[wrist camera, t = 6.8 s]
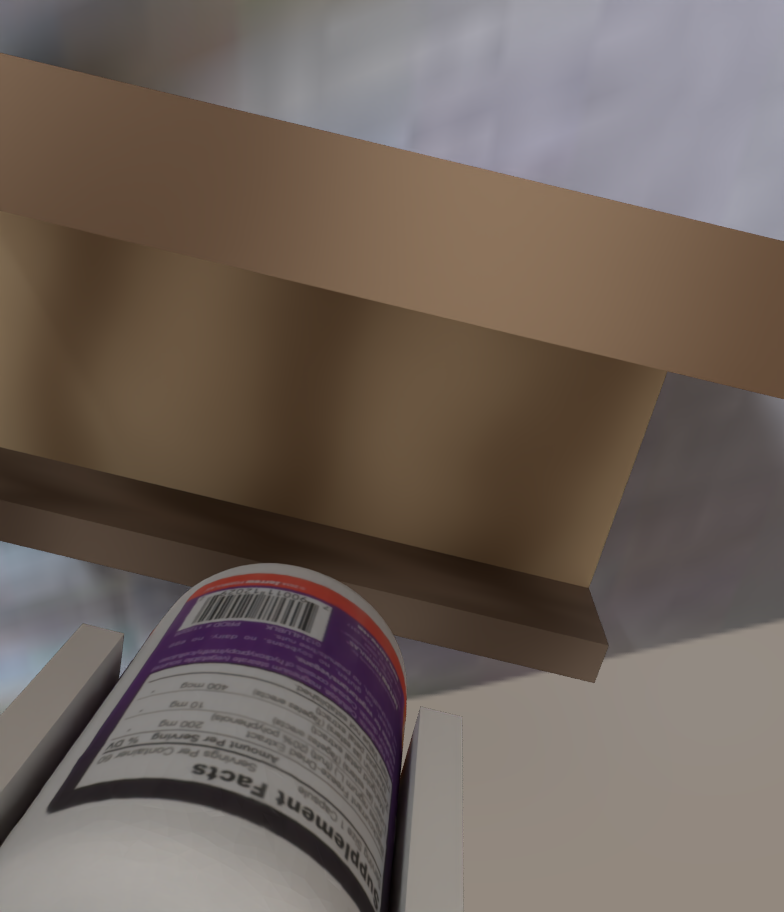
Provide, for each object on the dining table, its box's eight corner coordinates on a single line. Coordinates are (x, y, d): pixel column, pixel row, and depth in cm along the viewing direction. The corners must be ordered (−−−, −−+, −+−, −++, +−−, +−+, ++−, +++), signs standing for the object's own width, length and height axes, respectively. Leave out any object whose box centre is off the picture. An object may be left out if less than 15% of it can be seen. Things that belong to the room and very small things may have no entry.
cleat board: (-17, 442, 25) (-551, 721, 12) (-3, 74, 21) (-778, -135, 8) (564, 581, 25) (692, 1017, 12) (684, 239, 21) (1074, 311, 8)
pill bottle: (289, 816, 17) (90, 1556, 8) (107, 662, 16) (-374, 1290, 7) (465, 679, 15) (486, 1392, 6) (275, 502, 14) (-44, 1019, 5)
